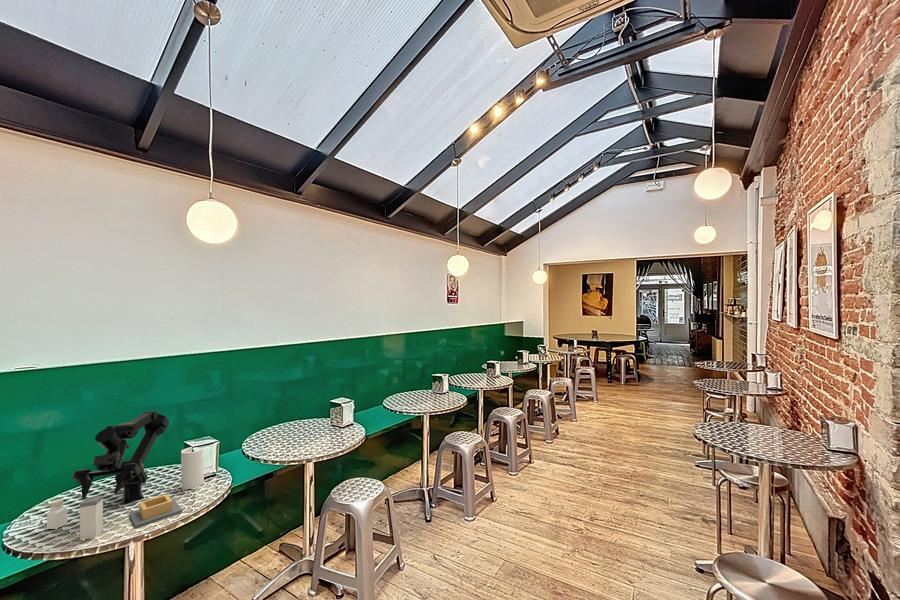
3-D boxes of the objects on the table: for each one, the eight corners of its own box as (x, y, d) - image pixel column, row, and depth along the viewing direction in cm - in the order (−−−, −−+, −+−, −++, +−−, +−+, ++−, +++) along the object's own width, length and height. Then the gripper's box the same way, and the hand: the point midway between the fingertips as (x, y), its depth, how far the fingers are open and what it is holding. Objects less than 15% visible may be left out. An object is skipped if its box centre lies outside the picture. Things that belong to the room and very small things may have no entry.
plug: (87, 533, 135) (87, 497, 135) (103, 531, 136) (102, 495, 136) (80, 541, 130) (79, 503, 131) (96, 538, 132) (95, 501, 132)
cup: (208, 482, 173) (207, 446, 173) (190, 491, 165) (190, 453, 165) (195, 480, 175) (194, 445, 176) (177, 488, 168) (176, 451, 168)
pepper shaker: (68, 523, 142) (68, 497, 142) (57, 530, 138) (57, 503, 138) (57, 524, 142) (56, 498, 142) (46, 530, 138) (45, 503, 138)
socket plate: (129, 514, 147) (129, 503, 147) (173, 500, 157) (173, 489, 157) (135, 528, 137) (135, 515, 137) (182, 512, 147) (182, 500, 147)
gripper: (75, 448, 141) (55, 491, 130) (136, 441, 147) (123, 482, 136) (87, 462, 148) (70, 504, 137) (145, 454, 154) (133, 495, 143)
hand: (99, 496), depth 138 cm, fingers open, 9 cm apart
